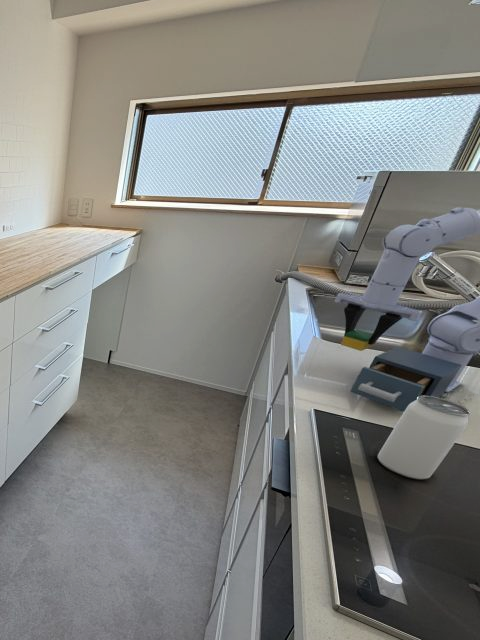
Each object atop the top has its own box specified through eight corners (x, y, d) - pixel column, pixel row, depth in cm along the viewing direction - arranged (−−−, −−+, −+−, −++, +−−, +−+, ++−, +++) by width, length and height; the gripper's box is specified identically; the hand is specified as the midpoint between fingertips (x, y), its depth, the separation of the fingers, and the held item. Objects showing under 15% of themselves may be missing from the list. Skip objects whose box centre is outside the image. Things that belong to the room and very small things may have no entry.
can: (441, 484, 64) (488, 419, 59) (393, 477, 65) (435, 413, 60) (410, 458, 70) (450, 397, 64) (366, 452, 71) (402, 391, 65)
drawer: (398, 419, 79) (414, 393, 76) (339, 396, 86) (352, 372, 84) (427, 399, 87) (442, 375, 84) (371, 380, 94) (384, 357, 91)
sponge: (351, 340, 100) (357, 329, 98) (371, 346, 97) (378, 334, 95) (340, 344, 97) (346, 333, 96) (361, 351, 94) (367, 339, 93)
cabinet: (421, 409, 84) (442, 377, 81) (358, 386, 93) (375, 356, 89) (442, 395, 90) (462, 365, 87) (381, 375, 98) (397, 346, 95)
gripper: (340, 276, 94) (315, 332, 100) (425, 293, 83) (391, 354, 89) (353, 274, 97) (328, 327, 103) (437, 290, 86) (404, 349, 92)
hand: (358, 340), depth 96 cm, fingers closed on sponge, 4 cm apart
